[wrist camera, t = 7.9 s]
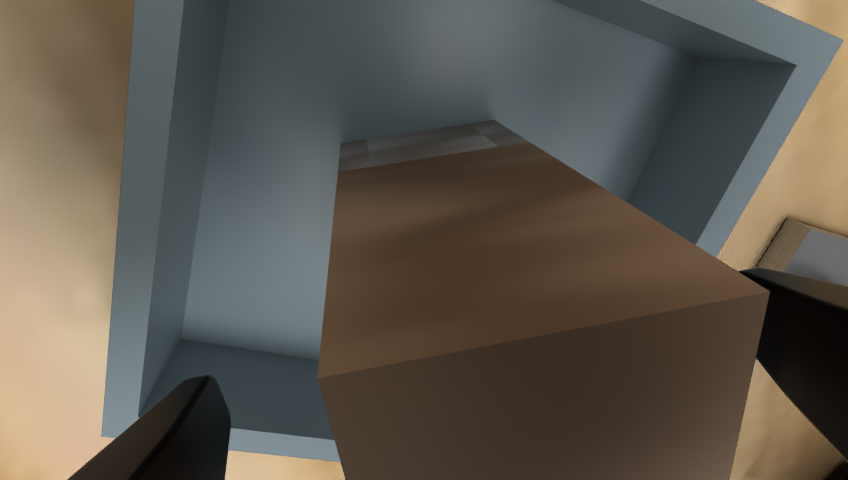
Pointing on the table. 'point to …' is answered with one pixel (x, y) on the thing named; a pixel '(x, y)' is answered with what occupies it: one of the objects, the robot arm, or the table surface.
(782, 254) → the knob on square plate
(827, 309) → the robot arm
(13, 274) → the table surface
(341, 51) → the bin
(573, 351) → the strut
